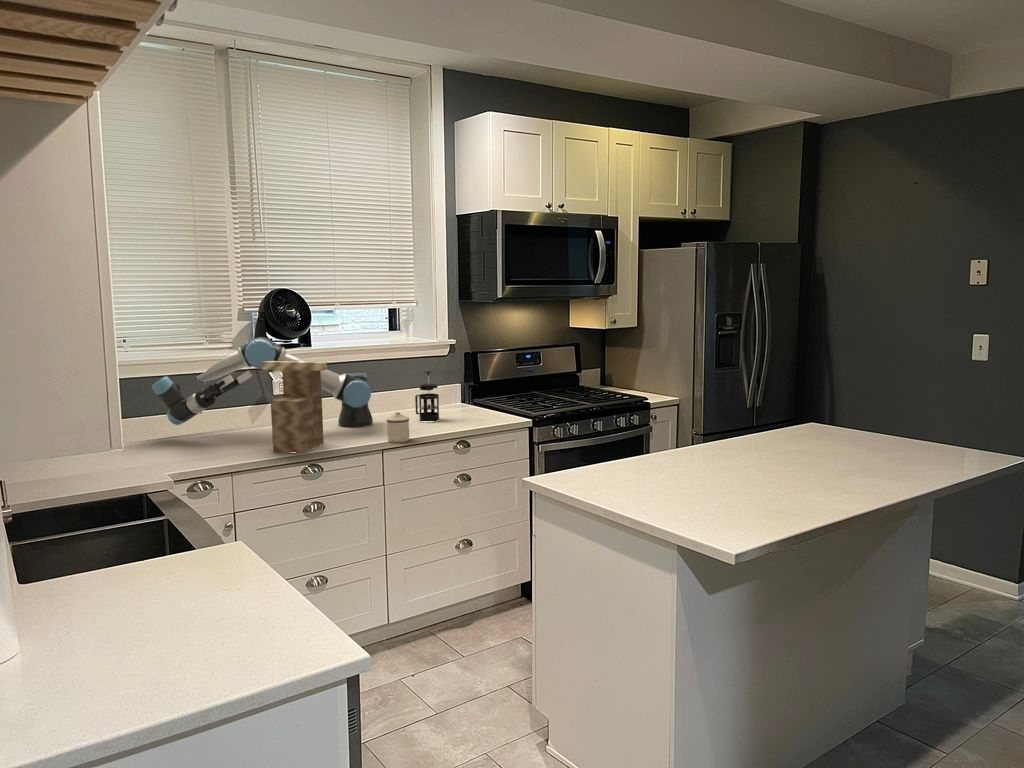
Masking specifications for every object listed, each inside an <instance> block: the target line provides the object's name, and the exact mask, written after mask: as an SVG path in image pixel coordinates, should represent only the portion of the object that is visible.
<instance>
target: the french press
mask: <svg viewBox="0 0 1024 768" xmlns="http://www.w3.org/2000/svg"><path fill="white" fill-rule="evenodd" d="M433 372H434V371H432V370H426V371H423V373H426V374H427V375H426V376H427V381H428V382H423V383H419V384H418V386H419V390H421V391H428V393H421V394H416V395H414V399H415V415H418V416H419V419H420V421H437V420H439V419H440V407H439V406H440V404H439V403H440V400H439V398H440V395H439V394H438V393H430V391H433V390H434V389H437V388H438V386H439V384H438V383H434V382H430V374H432V373H433ZM422 400H423V405H422ZM428 400H430V403H428ZM435 400H436V405H435ZM418 404H419V406H418ZM418 407H419V411H418ZM422 410H423V412H422ZM435 410H436V411H435ZM420 421H419V422H420Z"/></svg>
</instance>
